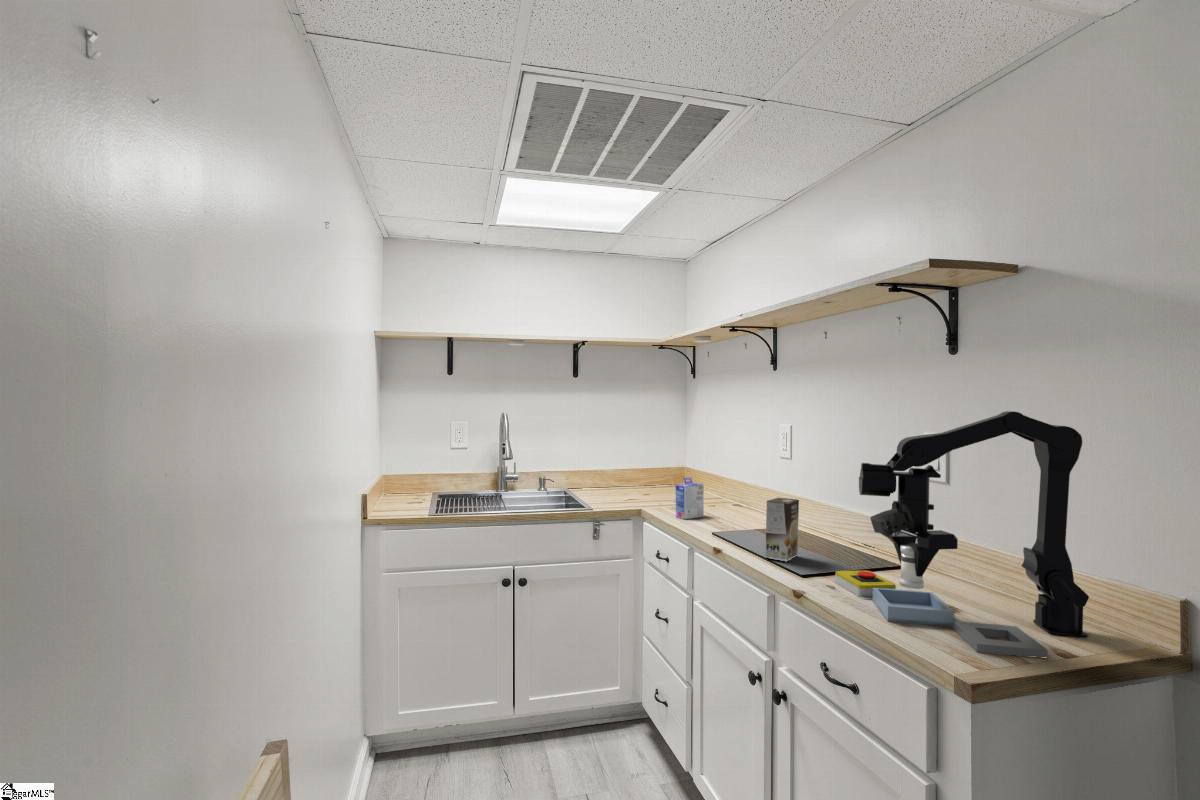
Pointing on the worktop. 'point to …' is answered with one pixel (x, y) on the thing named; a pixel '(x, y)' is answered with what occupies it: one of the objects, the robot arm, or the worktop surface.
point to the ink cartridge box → (689, 500)
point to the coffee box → (782, 528)
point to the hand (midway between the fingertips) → (912, 573)
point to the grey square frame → (1016, 645)
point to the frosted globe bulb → (909, 569)
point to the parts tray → (912, 607)
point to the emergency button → (861, 583)
